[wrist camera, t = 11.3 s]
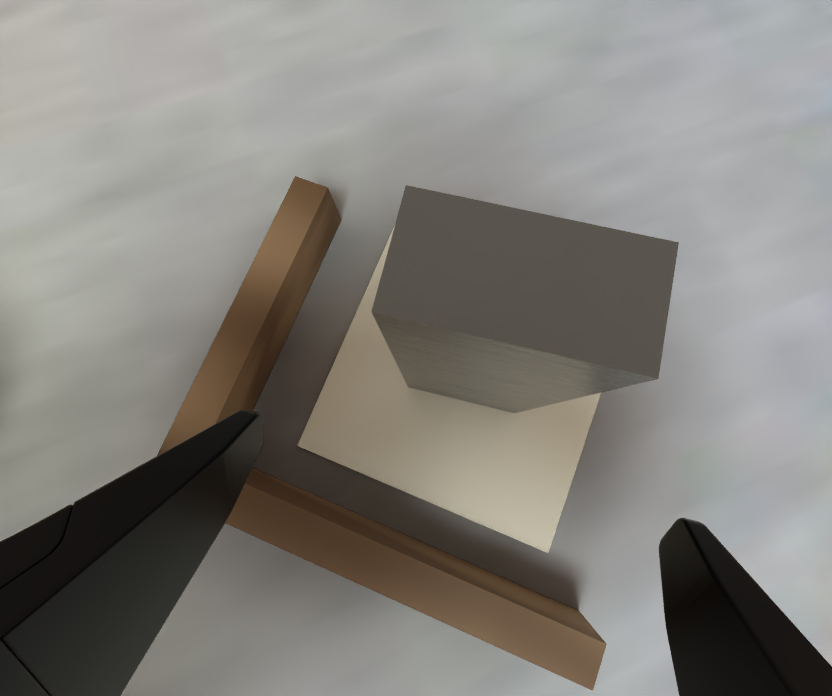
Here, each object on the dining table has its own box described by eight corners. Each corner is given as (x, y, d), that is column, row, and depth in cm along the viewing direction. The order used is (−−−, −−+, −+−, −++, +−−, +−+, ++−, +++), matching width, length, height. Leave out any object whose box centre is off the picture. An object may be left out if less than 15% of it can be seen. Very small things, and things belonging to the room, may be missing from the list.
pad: (546, 551, 19) (548, 553, 19) (298, 445, 20) (296, 446, 20) (628, 304, 21) (631, 302, 21) (397, 220, 22) (397, 218, 22)
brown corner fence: (567, 649, 19) (592, 690, 16) (184, 477, 20) (142, 485, 17) (664, 338, 21) (702, 323, 18) (312, 209, 23) (295, 176, 20)
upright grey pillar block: (408, 387, 21) (371, 311, 8) (438, 267, 22) (448, 29, 9) (514, 413, 20) (658, 378, 7) (539, 290, 21) (703, 75, 8)
